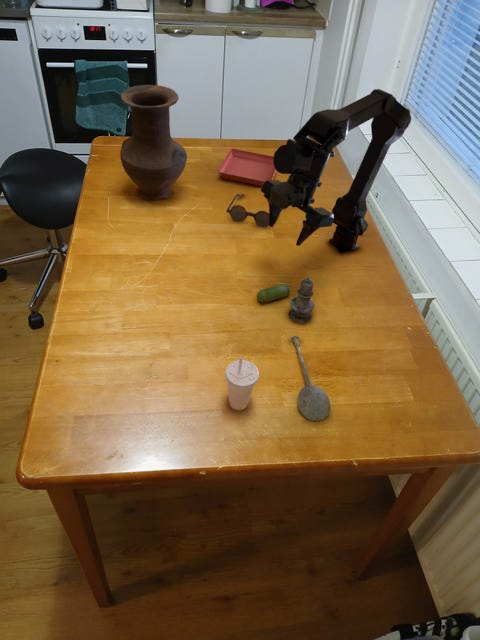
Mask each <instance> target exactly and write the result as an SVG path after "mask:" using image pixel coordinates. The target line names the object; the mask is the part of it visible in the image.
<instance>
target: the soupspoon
mask: <svg viewBox="0 0 480 640" xmlns="http://www.w3.org/2000/svg"><path fill="white" fill-rule="evenodd" d="M299 340H300V336H299V335H292V336H291V341H292V342H293V343H294V345H295V348H296V351H297V355H298V359H299V361H300V365H301V369H302V371H303V375H304V379H305V383H306V385H305V386H303V387H302V388H301V390H300V391H299V393H298V395H297V402H298V409H299V411H300V413H301V415H303V416H304V417H305V418H306V419H307V420H309V421H311V422H315V423H316V422H322V421H324V420H326V419H327V418H328V417H329V415H330V412H331V401H330V398H329V396H328V395H327V393H326V392H325V390H323V389H322V388H320V387H319V386H316V385H313V384H312V382H311V378H310V375H309V372H308V369H307V366H306V363H305V360H304V357H303V354H302V351H301V348H300V347H301V346H300V342H299Z"/></svg>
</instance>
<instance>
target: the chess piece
mask: <svg viewBox="0 0 480 640" xmlns="http://www.w3.org/2000/svg"><path fill="white" fill-rule="evenodd" d="M313 288H314V281H313V280H312V279H311V278H310V277H309V276H308V277H307V278H304V279H302V280H301V281H300V285H299V288H298V289H297V291H296V293H297V296H294V297H293V298H292V299H291V300H290V302H289V306H290V310H289V312H288V316H289V318H290V319H291V320H292V321H293V322H295V323H298V324H305V323H308V322H309V321H310V320H311V318H312V315H311V314H312V312H314V310H315V308H316V307H315V303H314V301H313V300H312V299H311V298H312V297H313V295H314V292H313Z"/></svg>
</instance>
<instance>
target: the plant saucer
mask: <svg viewBox="0 0 480 640" xmlns="http://www.w3.org/2000/svg"><path fill="white" fill-rule="evenodd" d="M273 157H274V155H268V154H263V153H259V152H253V151H249V150H243V149H238V148H233V147H232V148H230V149H229V150H228V152H227V153H226V155H225V157H224V159H223V161H222V162H221V164H220V166H219V168H218V170H217V173H219V175H220V176H221V177H222V178H223V179H224V180H231V181H235V182H239V183H246V184H251V185H254V186H259V187H262V185H263V183H264V182H265V181H267V180H274V177H275V175H276V172H277V170H276V169H275V167H274V163H273Z"/></svg>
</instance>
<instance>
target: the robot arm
mask: <svg viewBox="0 0 480 640" xmlns="http://www.w3.org/2000/svg"><path fill="white" fill-rule="evenodd" d="M370 120H372V121H371V123H370V130H371V131H370V132H371V140H370V142H369V145H368V146H367V148H366V151H365V152H364V155H363V158H362V160H361V162H360V165H359V167H358V169H357V171H356V173H355V176H354V177H353V180H352V183H351V185H350V187H349V189H348V192H347V193H345V194H344V195H343V196H339V197H337V199H335V200H336V201H335V204H334V205H333V207H332V209H331V211H330V210H327V209H326V208H324V207H323V206H322V207H321V206H320V207H314V206H312V205H311V204H313V205H314V203H315V201H316V199H315V198H314V195H315V192H316V190H317V188H320V187H321V186H322V184H323V182H321V177H322V176H323V173H324V170H325V169H326V165H327V163H328V160H329V158H334V157H335V156H336V154H335V151H334V148H336V147H337V146H339V145H341V143H343V142H344V141H345V140H346V139H347V136H348V133H349V132H350V131H352V130H353V129H355V128H357V127H359V126H361V125H363V124H365V123H366V122H368V121H370ZM411 122H412V115H411V110H410V109H409V108H407V107H405V106H403V105H402V104H401V103H400V101H398V100H397V99H396V97H395V96H394V95H393V94H392V93H390V92H387V91H385V90H383V89H380V88H374V89H373V90H372V91H371V92H370V93H369V94H367V95H365V96H363V97H361V98H360V99H357V100H355V101H353V102H351V103H349V104H347V105H346V106H343V107H342V108H338V109H331V108H330V109H329V108H328V109H324V110H320V111H316V112H314V113H313V114H312V115H311V117H309V118H308V120H307V121H306V122H305V123H304V125H302V127H301V128H300V129H299V131H297V133H296V134H295V135H294V136H293V139H292V138H288V139H287V141H286V144H282V145H280V146H279V147H278V148H277V150H276V151H275V152H274V153H273V156H274V157H273V163H274V167H275V169H276V172H278V173H279V174H282V175H288V178H287V180H286V181H281V180H278V179H275V180H274V179H273V180H267V181H265V182H264V183H263V185H262V186H261V188H260V192H261V193H263V197H264V198H265V200H266V201H267V204H268V211H269V212H268V213H269V226H268V227H269V228H273V227H274V226H275V224H276V223H277V221H278V219H279V218H280V214H281V213H282V211H283V210H285V209H288V208H289V207H292V208H293V209H294V208H297V209H298V210H300V211H302V212H303V213H305V216H304V218H305V219H302V228H301V230H300V233H299V235H298V237H297V240H296V243H295V245H296V246H297V247H299V246H301V245H302V244H303V243H304V242H305V241H306V240H307V239H308V238H309V237H310V236H311V235H312V234H314V233H315V232H316V231H317V230H319V229H320V228H328V227H332V226H333V224H334V225H336V226H335V230H334V231H333V234H332V238H329V239H328V243H330V244H331V245H332V246H333V247H334V248H335V249H336V250H337V252H339V253H340V254H346V253H348V252H352V251H356V250H357V251H358V250H359V249H360V246H359V245H358V244H357V242H358V239H359V237H362V236H363V235H364V233H365V232H366V231H367V230H368V227H369V223H368V222H367V221H366V219H365V217H366V214H367V211H368V207H367V206H368V205H367V197H368V195H369V192H370V191H371V188H372V187H373V184H374V182H375V180H376V178H377V175H378V173H379V171H380V169H381V167H382V165H383V162H384V161H385V159H386V156H387V154H388V152H389V149H390V147H391V146H392V144H394V143H395V142H397V141H398V140H399V139H400V138H402V137H403V135H404V133H405V132H406V130H407V129H408V128H409V127H410V125H411Z"/></svg>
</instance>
